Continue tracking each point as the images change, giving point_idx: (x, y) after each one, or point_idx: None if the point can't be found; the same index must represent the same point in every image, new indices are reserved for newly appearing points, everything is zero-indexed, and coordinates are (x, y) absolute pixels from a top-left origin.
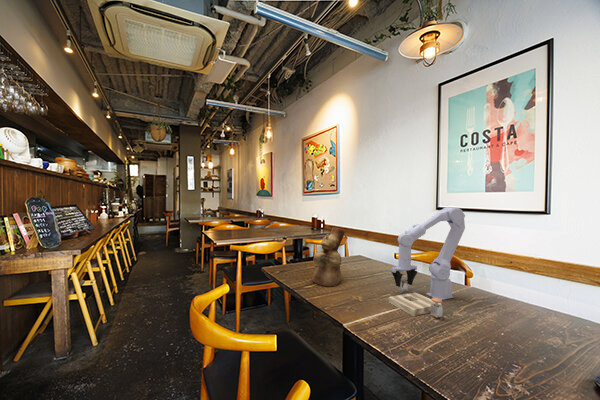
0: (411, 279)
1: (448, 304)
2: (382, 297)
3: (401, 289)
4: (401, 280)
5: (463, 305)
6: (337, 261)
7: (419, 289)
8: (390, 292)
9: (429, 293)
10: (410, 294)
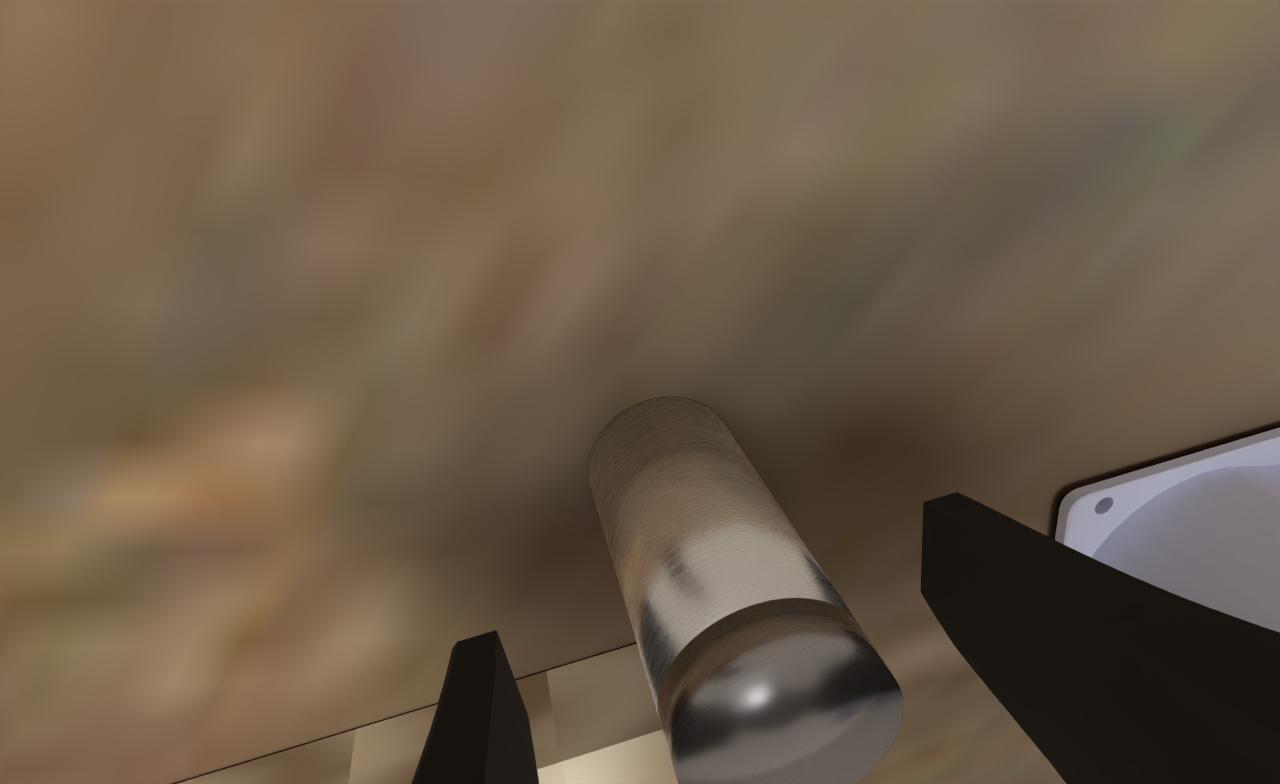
0: (1042, 734)
1: (1015, 771)
2: (11, 613)
3: (611, 557)
4: (677, 768)
5: None
6: None
7: (1196, 230)
8: (376, 338)
9: (1122, 512)
10: (632, 775)
